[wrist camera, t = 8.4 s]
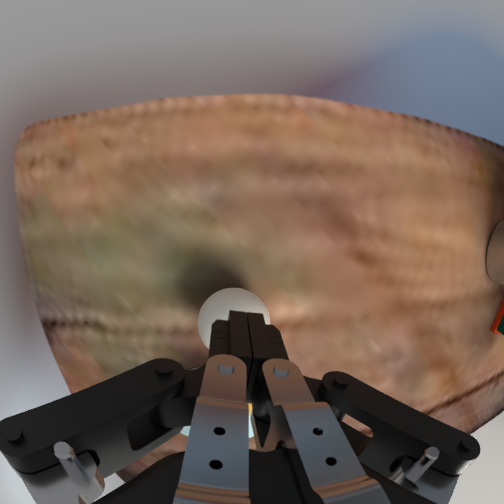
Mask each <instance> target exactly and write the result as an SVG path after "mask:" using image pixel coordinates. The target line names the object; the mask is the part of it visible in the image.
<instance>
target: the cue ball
mask: <svg viewBox="0 0 504 504" xmlns="http://www.w3.org/2000/svg"><path fill="white" fill-rule="evenodd" d="M229 310H234V311H243V312H253V313H263V316H264V320H265V324H269V325H270V317H269V313H268V310H267V308H266V306H265V304H264V303H263V302H262V300H261V299H260V298H259V297H258V296H256V295H255V294H254V293H252V292H250V291H248V290H245V289H242V288H225V289H222V290H219V291H217V292H215V293H214V294H212V295H211V296H210V297H209V298H208V299H207V300H206V301H205V302H204V304H203V305H202V307H201V309H200V312H199V315H198V322H197V324H198V331H199V335H200V338H201V339H202V341H203V343H204V344H205V346H206V347H207V348H208V349H209V345H210V336H211V327H212V324H213V323H214V322H215V321H216V320H217V319H220V320H228V316H229Z"/></svg>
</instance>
